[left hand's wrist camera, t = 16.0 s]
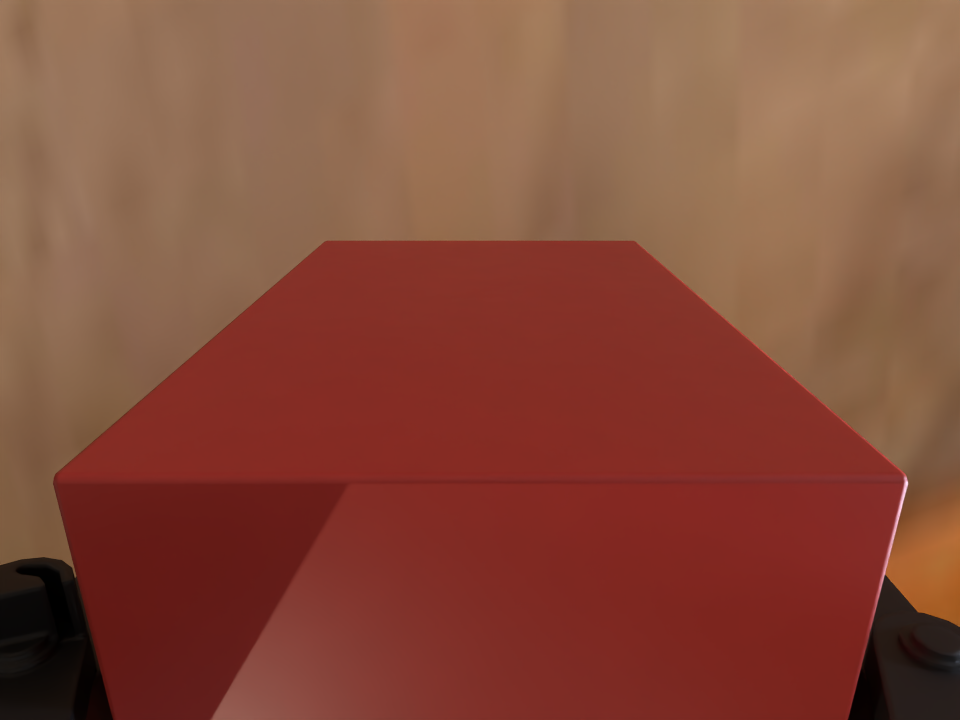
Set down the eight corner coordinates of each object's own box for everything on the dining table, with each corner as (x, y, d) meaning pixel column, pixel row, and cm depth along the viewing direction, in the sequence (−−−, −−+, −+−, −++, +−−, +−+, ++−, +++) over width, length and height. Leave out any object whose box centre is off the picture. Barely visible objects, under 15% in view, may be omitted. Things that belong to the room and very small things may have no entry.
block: (324, 240, 16) (47, 476, 6) (635, 240, 16) (915, 476, 6) (347, 526, 18) (188, 1029, 8) (612, 526, 18) (773, 1028, 8)
